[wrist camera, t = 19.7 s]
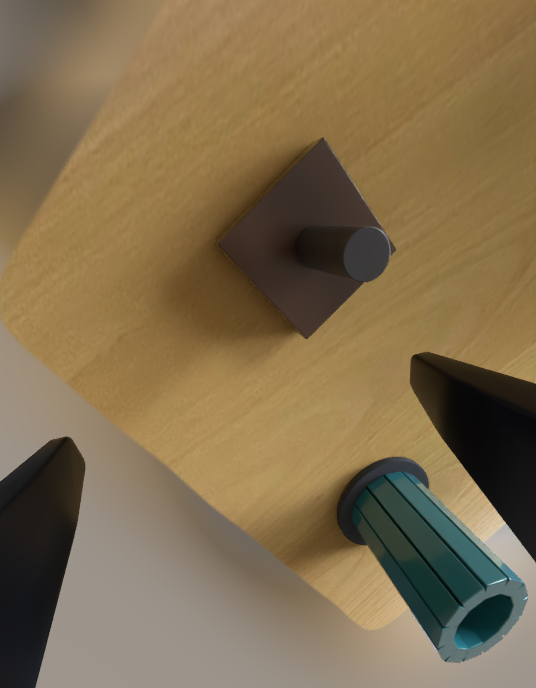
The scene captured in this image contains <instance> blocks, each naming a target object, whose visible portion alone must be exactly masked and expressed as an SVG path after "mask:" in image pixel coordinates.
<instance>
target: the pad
mask: <svg viewBox="0 0 536 688" xmlns="http://www.w3.org/2000/svg"><path fill="white" fill-rule="evenodd" d="M398 471H401V472H402V471H404V472H406V473H409V474H411V475H414V476H415V477H416V478H417V479H418V480H419V481H420V482H421V483H422V484H423V485H424V486H425V487H426V488H427V489H428V490H429V482H428V478H427V475H426V473H425V471H424V470H423V469H422V468H421V467H420V466H419V465H418V464H417V463H416V462H414V461H413V460H410V459H408V458H403V457H392V458H386V459H383V460H380V461H378V462H375V463H373V464H372V465H370V466H368V467H367V468H365V469H364V470H362V471H361V472H360V473H359V474H358V475H357V476H356V477H355V478H354V479H353V480H352V481H351V482H350V483H349V485H348V486H347V487H346V489H345V490H344V492H343V494H342V496H341V499H340V501H339V505H338V509H337V520H338V524H339V527H340V529H341V530H342V532H343V534H344V535H345V536H346V537H347V538H348V539H349V540H350V541H352V542H354V543H356V544H360V545H367V544H366V543H365V541H364V540H363V538H362V537H361V535H360V534H359V532H358V531H357V529H356V527H355V526H354V524H353V521H352V515H353V507H354V505H356V503H355V502H356V500H357V499H358V497H359V496H360V494H361V493H362V492H363V490H364V489H365V488H367V489H368V487H367V486H368V485H369V484H370V483H372V482H373V481H375V480H376V479H378V478H379V477H380V476H383V477H384V476H385V474H388V473H393V472H398Z"/></svg>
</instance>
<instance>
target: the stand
mask: <svg viewBox="0 0 536 688" xmlns="http://www.w3.org/2000/svg"><path fill="white" fill-rule="evenodd" d="M214 244H215V245H216V246H217V247H218V248H219V249H220V250H221V251H222V253H223V254H224V255H225V256H226V257H227V258H228V259H229V260H230V261H231V262H232V263H233V264H234V265H235V266H236V267H237V269H238V270H239V271H240V272H241V273H242V274H243V275H244V276H245V277H246V278H247V279H248V280H249V281H250V282H251V283H252V284H253V286H254V287H255V288H256V289H257V290H258V291H259V292H260V293H261V294H262V295H263V296H264V297H265V298H266V299H267V300H268V302H269V303H270V304H271V305H272V306H273V307H274V308H275V309H276V310H277V311H278V312H279V313H280V314H281V315H282V316H283V318H284V319H285V320H286V321H287V322H288V323H289V324H290V325H291V326H292V327H293V328H294V329H295V330H296V331H297V332H298V333H299V334H300V335H301V336H303V337H304V338H305V339H308V338H309V337H310V336H311V335H312V334H313V333H314V332H315V331H316V330H317V329H318V328H319V327H320V326H321V325H322V324H323V323H324V322H325V321H326V320H327V319H328V318H329V317H330V316H331V315H332V314H333V313H334V312H335V311H336V310H337V309H338V308H339V307H340V306H341V305H342V304H343V303H344V302H345V301H346V300H347V299H348V298H349V297H350V296H351V295H352V294H353V293H354V292H355V291H356V290H357V289H358V288H359V287H360V286H361V285H362V284H363V283H364V282H369V281H372V280H374V279H375V278H377V277H378V276H379V275H381V273H382V272H383V271H384V270H385V268H386V266H387V264H388V262H389V258H390V256H391V255H392V254H393V253H394V252H395V251H396V248H395V246H394V245H393V243H392V242H391V240H390V239H389V237H388V235H387V234H386V232H385V231H384V229H383V228H382V226H381V225H380V223H379V222H378V220H377V218H376V217H375V215H374V214H373V212H372V211H371V209H370V208H369V206H368V205H367V203H366V201H365V200H364V198H363V197H362V195H361V194H360V192H359V191H358V189H357V187H356V186H355V184H354V183H353V181H352V180H351V178H350V177H349V175H348V174H347V172H346V170H345V169H344V167H343V166H342V164H341V163H340V161H339V160H338V158H337V157H336V155H335V153H334V152H333V150H332V149H331V147H330V146H329V144H328V143H327V141H326V140H325V138H324V137H323V138H321V139H319V140H317V141H315V142H313V143H311V144H310V145H309V147H308V148H307V149H306V150H305V151H304V152H303V153H302V154H301V155H300V156H299V157H298V158H297V159H296V160H295V161H294V162H293V163H292V164H291V165H290V166H289V167H288V168H287V169H286V170H285V171H284V172H283V173H282V174H281V175H280V176H279V177H278V178H277V179H276V180H275V181H274V182H273V183H272V184H271V185H270V186H269V187H268V188H267V189H266V190H265V191H264V192H263V193H262V194H261V195H260V196H259V197H258V198H257V199H256V200H255V201H254V202H253V203H252V204H251V205H250V206H249V207H248V208H247V209H246V210H245V211H244V212H243V213H242V214H241V215H240V216H239V217H238V218H237V219H236V220H235V221H234V222H233V223H232V224H231V226H230V227H229V228H228V229H227V230H226V231H225V232H224V233H223V234H222V235H221V236H220V237H219V238H218V239H217V240H216V241H215V242H214Z"/></svg>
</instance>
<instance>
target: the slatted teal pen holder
mask: <svg viewBox="0 0 536 688" xmlns="http://www.w3.org/2000/svg"><path fill="white" fill-rule="evenodd" d="M367 487H368V489H367V488H365V489H364V490H363V492H362V493H361V494H360V496H359V497H358V499H357V500H356V502H355V503H356V505H354V507H353V515H352V521H353V524H354V526H355V527H356V529H357V531H358V532H359V534H360V535H361V537H362V538H363V540H364V541H365V543H366V544H367V546H368V547H369V549H370V551H371V552H372V554H373V555H374V557H375V558H376V560H377V561H378V563H379V564H380V566H381V567H382V569H383V570H384V572H385V573H386V575H387V576H388V578H389V579H390V581H391V582H392V584H393V585H394V587H395V588H396V590H397V591H398V593H399V594H400V596H401V598H402V599H403V601H404V602H405V604H406V605H407V607H408V608H409V610H410V611H411V613H412V614H413V616H414V617H415V619H416V620H417V621H418V623H419V625H420V626H421V628H422V629H423V631H424V632H425V634H426V635H427V637H428V638H429V640H430V641H431V643H432V645H433V646H434V648H435V649H436V651H437V652H438V654H439V655H440V656H441V658H442V659H443V660H444V661H445V662H455V663H460V662H461V661H466V660H468V659H471V658H473V657H476V656H478V655H481V654H482V651H483V652H486V651H487V650H489V649H490V648H491V647H493V646H494V645H495V644H496V643H498V642H499V641H500V640H502V639H503V637H502V635H507V633H508V632H509V631H510V630H511V628H512V627H513V626H514V625H515V623H516V622H517V621H518V620H519V616H521V615H522V612H523V610H524V607H525V605H526V602H527V600H528V598H527V596H528V593H527V590H526V586H525V583H524V582H523V581H522V580H521V579H520V578H519V577H518V576H517V575H516V574H515V573H514V572H513V571H512V570H511V569H510V568H509V567H508V566H507V565H506V564H504V563H503V562H502V561H501V560H500V559H499V558H498V557H497V556H496V555H495V554H494V553H493V552H492V551H491V550H490V549H489V548H488V547H487V546H486V545H485V544H484V543H483V542H482V541H481V540H480V539H479V538H478V537H477V536H476V535H475V534H474V533H473V532H472V531H471V530H470V529H469V528H467V527H466V526H465V525H464V524H463V523H462V522H461V521H460V520H459V519H458V518H457V517H456V516H455V515H454V514H453V513H452V512H451V511H450V510H449V509H448V508H447V507H446V506H445V505H444V504H443V503H442V502H441V501H440V500H439V499H438V498H437V497H436V496H435V495H434V494H433V493H431V492H430V491H429V490H428V489H427V488H426V487H425V486H424V485H423V484H422V483H421V482H420V481H419V480H418V479H417V478H416V477H415V476H414V475H411V474H409V473H406V472H404V471H402V472H401V471H398V472H393V473H388V474H385V476H384V477H383V476H380V477H379V478H378V479H376V480H375V481H373V482H372V483H370V484H369V485H368V486H367Z"/></svg>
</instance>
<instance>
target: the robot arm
mask: <svg viewBox="0 0 536 688" xmlns="http://www.w3.org/2000/svg"><path fill="white" fill-rule="evenodd" d="M410 384H411V387H412V389H413V391H414V393H415V395H416V396H417V398H418V400H419V401H420V403H421V405H422V406H423V408H424V410H425V411H426V413H427V415H428V416H429V418H430V420H431V421H432V423H433V425H434V426H435V428H436V430H437V431H438V433H439V434H440V436H441V437H442V439H443V440H444V441H445V443H446V444H447V445H448V447H449V448H450V449H451V451H452V452H453V453H454V455H455V456H456V457H457V459H458V460H459V461H460V463H461V464H462V465H463V467H464V468H465V469H466V471H467V472H468V473H469V475H470V476H471V477H472V479H473V480H474V481H475V483H476V484H477V485H478V486H479V488H480V489H481V490H482V492H483V493H484V494H485V496H486V497H487V498H488V500H489V501H490V502H491V504H492V505H493V506H494V508H495V509H496V510H497V512H498V513H499V514H500V516H501V517H502V518H503V520H504V521H505V522H506V524H507V525H508V526H509V528H510V529H511V530H512V532H513V533H514V534H515V535H516V537H517V538H518V539H519V541H520V542H521V543H522V545H523V546H524V547H525V549H526V550H527V551H528V553H529V554H530V555H531V557H532V558H533V559H534V561H535V562H536V384H535V383H532V382H528V381H525V380H522V379H518V378H515V377H511V376H508V375H505V374H501V373H498V372H495V371H491V370H488V369H484V368H481V367H478V366H474V365H471V364H468V363H464V362H461V361H457V360H454V359H451V358H447V357H444V356H441V355H437V354H434V353H430V352H423V353H419V354H415V355H413V356H412V358H411V365H410ZM84 474H85V461H84V459H83V457H82V455H81V453H80V452H79V450H78V448H77V447H76V445H75V443H74V442H73V440H72V439H71V438H70V437H62V438H58V439H54V440H51V441H49V442H48V443H47V444H46V445H44V446H43V447H42V448H41V449H39V450H38V451H37V452H36V453H35V454H33V455H32V456H31V457H30V458H28V459H27V460H26V461H25V462H24V463H22V464H21V465H20V466H19V467H18V468H16V469H15V470H14V471H13V472H11V473H10V474H9V475H8V476H7V477H5V478H4V479H3V480H2V481H0V688H35V687H36V683H37V679H38V675H39V671H40V667H41V663H42V660H43V656H44V652H45V648H46V644H47V640H48V636H49V632H50V628H51V625H52V621H53V617H54V613H55V609H56V605H57V601H58V598H59V593H60V589H61V586H62V582H63V578H64V574H65V570H66V567H67V563H68V559H69V555H70V551H71V547H72V543H73V539H74V535H75V531H76V527H77V521H78V515H79V508H80V502H81V495H82V488H83V481H84Z"/></svg>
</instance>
